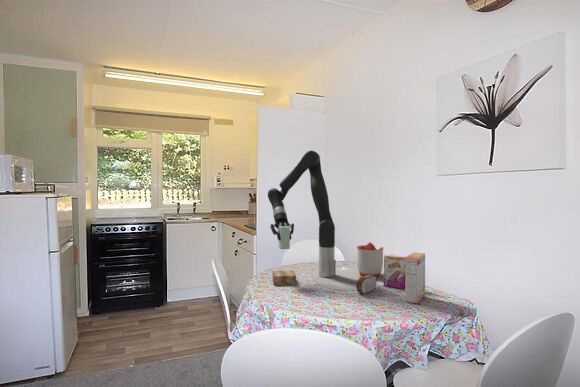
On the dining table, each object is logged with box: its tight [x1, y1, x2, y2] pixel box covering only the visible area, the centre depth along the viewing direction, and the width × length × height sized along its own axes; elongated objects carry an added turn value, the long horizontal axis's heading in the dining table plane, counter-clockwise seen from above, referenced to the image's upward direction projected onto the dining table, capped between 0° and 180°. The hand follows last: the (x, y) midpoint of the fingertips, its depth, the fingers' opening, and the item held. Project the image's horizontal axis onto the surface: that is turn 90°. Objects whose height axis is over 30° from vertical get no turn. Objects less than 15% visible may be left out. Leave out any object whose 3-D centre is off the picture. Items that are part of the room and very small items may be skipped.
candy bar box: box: [383, 254, 408, 289], centre depth 178 cm, size 11×5×16 cm, turn 65°
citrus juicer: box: [356, 241, 384, 278], centre depth 200 cm, size 16×17×20 cm
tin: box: [356, 274, 378, 295], centre depth 168 cm, size 15×3×8 cm, turn 134°
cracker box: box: [404, 252, 426, 304], centre depth 158 cm, size 14×6×21 cm, turn 144°
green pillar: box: [278, 226, 291, 250], centre depth 185 cm, size 5×5×12 cm
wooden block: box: [272, 270, 297, 286], centre depth 185 cm, size 12×12×5 cm
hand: (285, 239), depth 183 cm, fingers closed on green pillar, 5 cm apart
